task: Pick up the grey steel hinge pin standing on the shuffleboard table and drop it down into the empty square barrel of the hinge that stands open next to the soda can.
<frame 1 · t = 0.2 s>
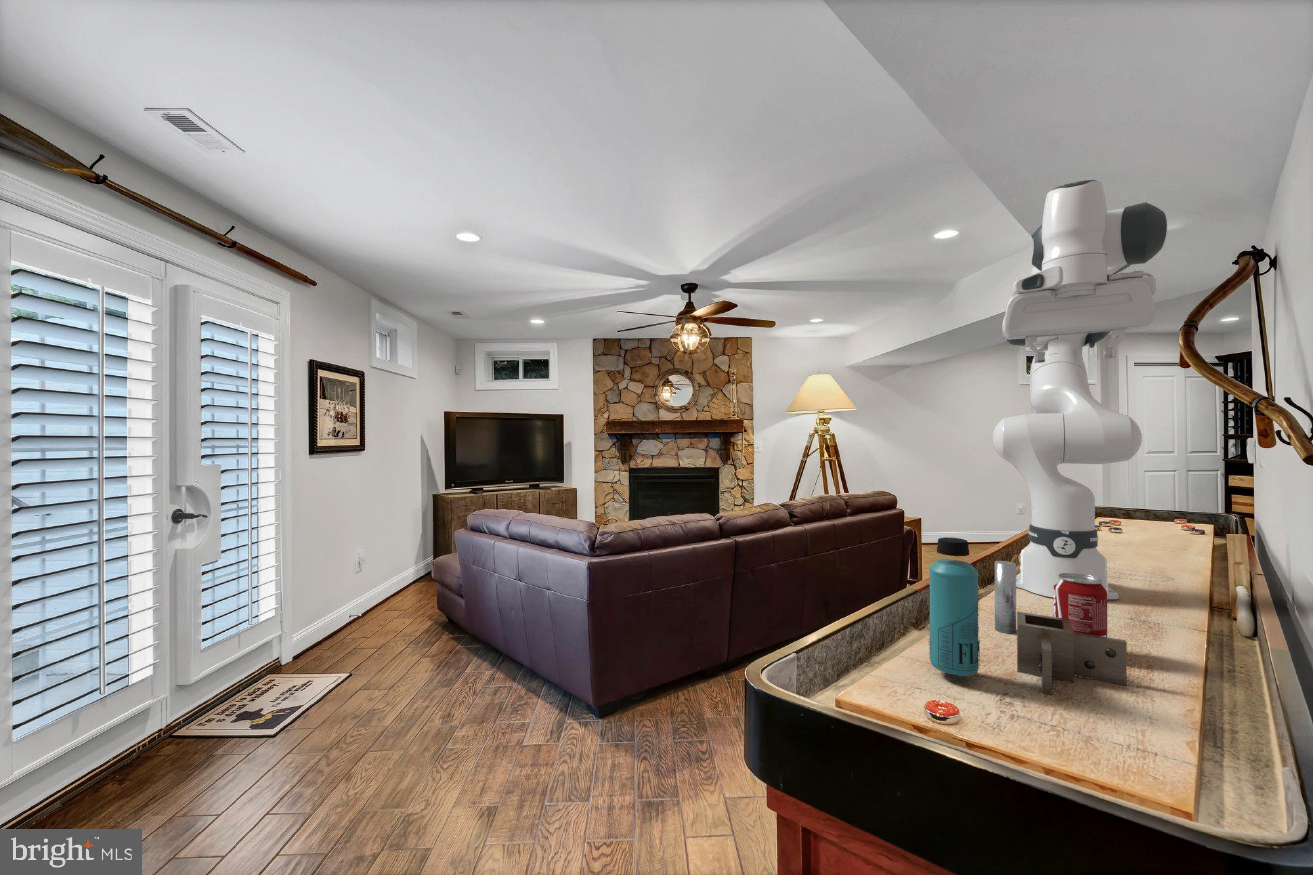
hand: (1073, 360, 92), 47 cm above the table, fingers open, 8 cm apart
pin: (1005, 630, 96), on the table
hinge: (1043, 668, 81), on the table
beverage bottle: (953, 677, 78), on the table
soda can: (1079, 653, 86), on the table
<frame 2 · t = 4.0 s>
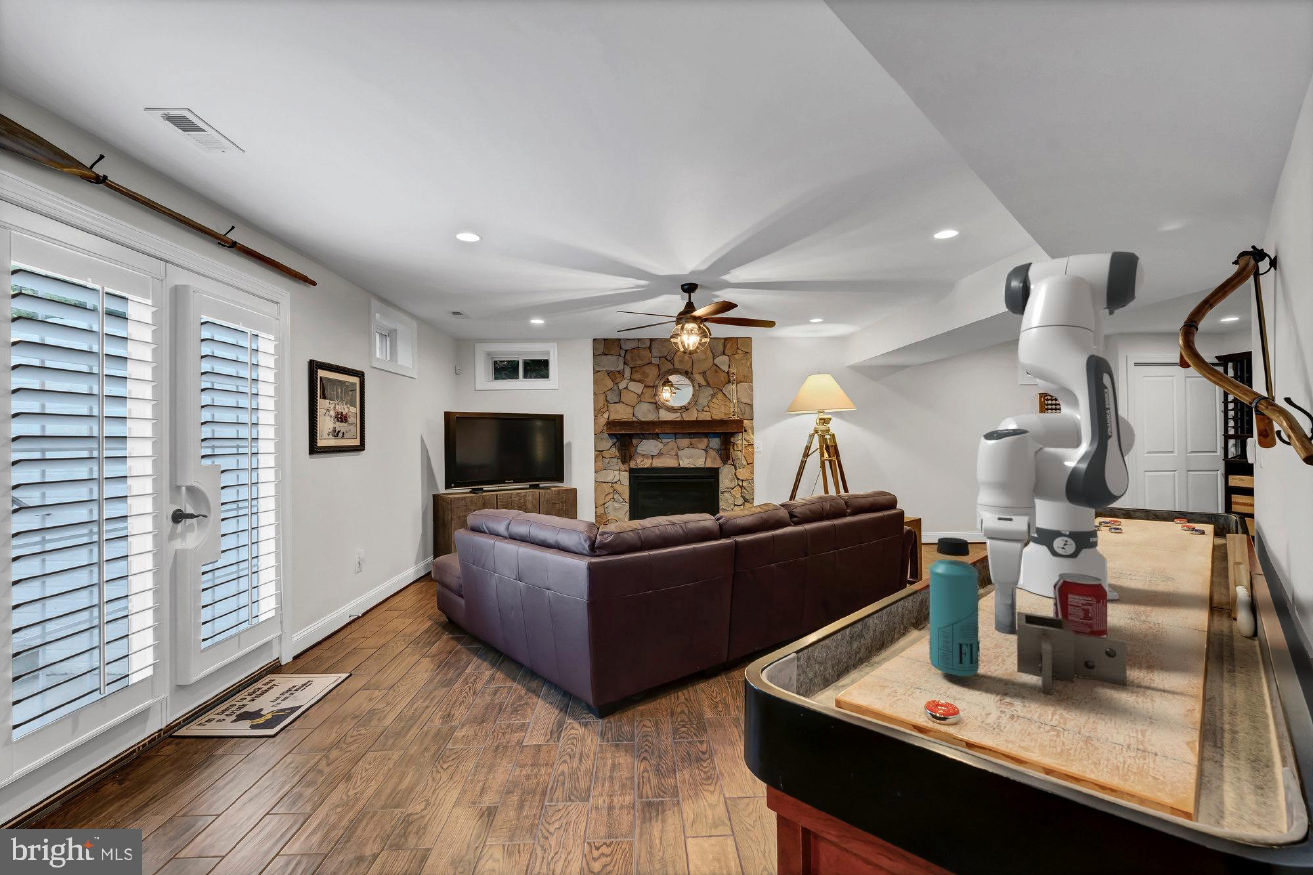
hand: (1005, 598, 96), 6 cm above the table, fingers closed on pin, 3 cm apart
pin: (1005, 630, 96), on the table, touching gripper
everything else where it was.
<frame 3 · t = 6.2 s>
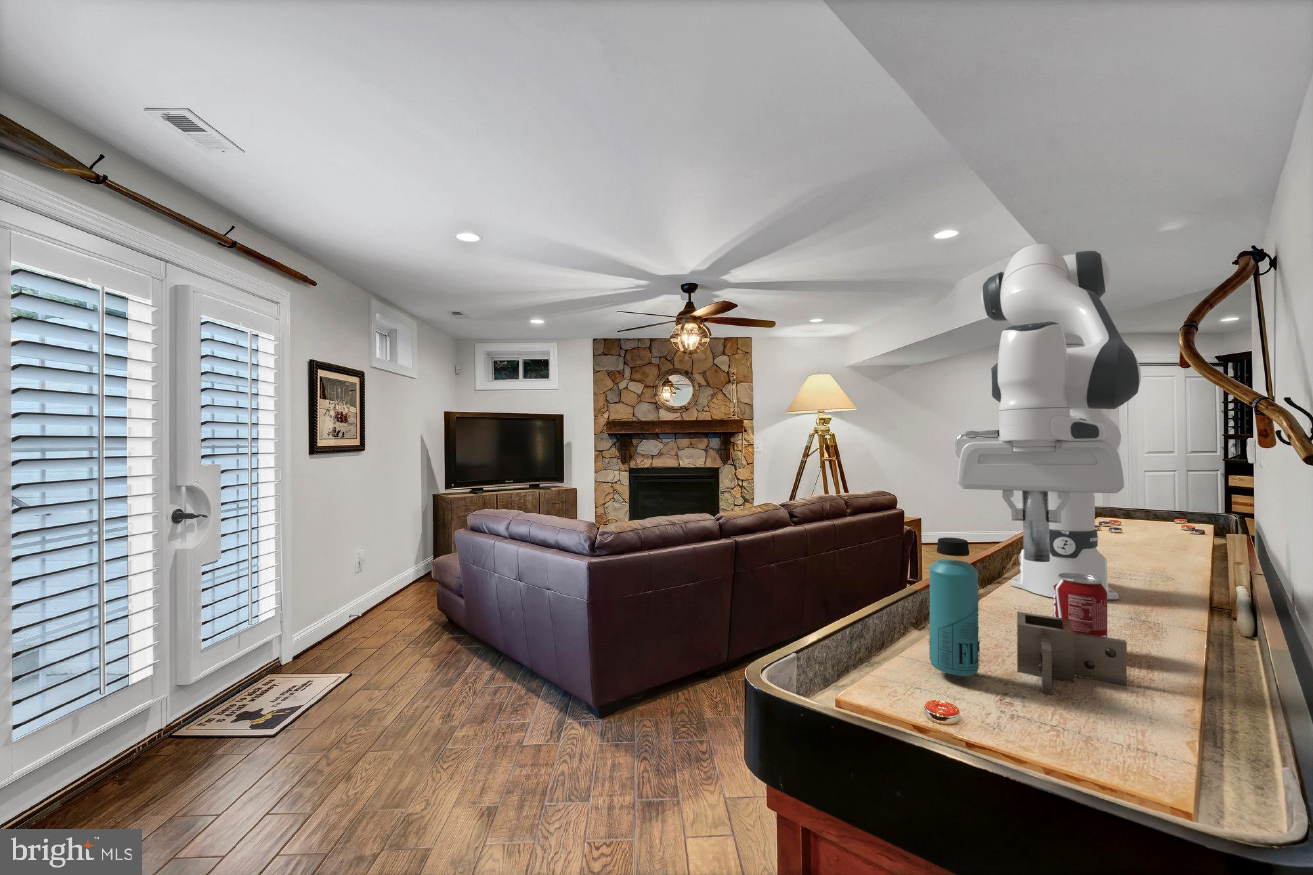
hand: (1036, 521, 81), 22 cm above the table, fingers closed on pin, 3 cm apart
pin: (1036, 559, 81), point 16 cm above the table, touching gripper
everything else where it was.
when the fingers open (9 cm above the table, at t = 8.4 s): pin drops 3 cm, resting in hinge.
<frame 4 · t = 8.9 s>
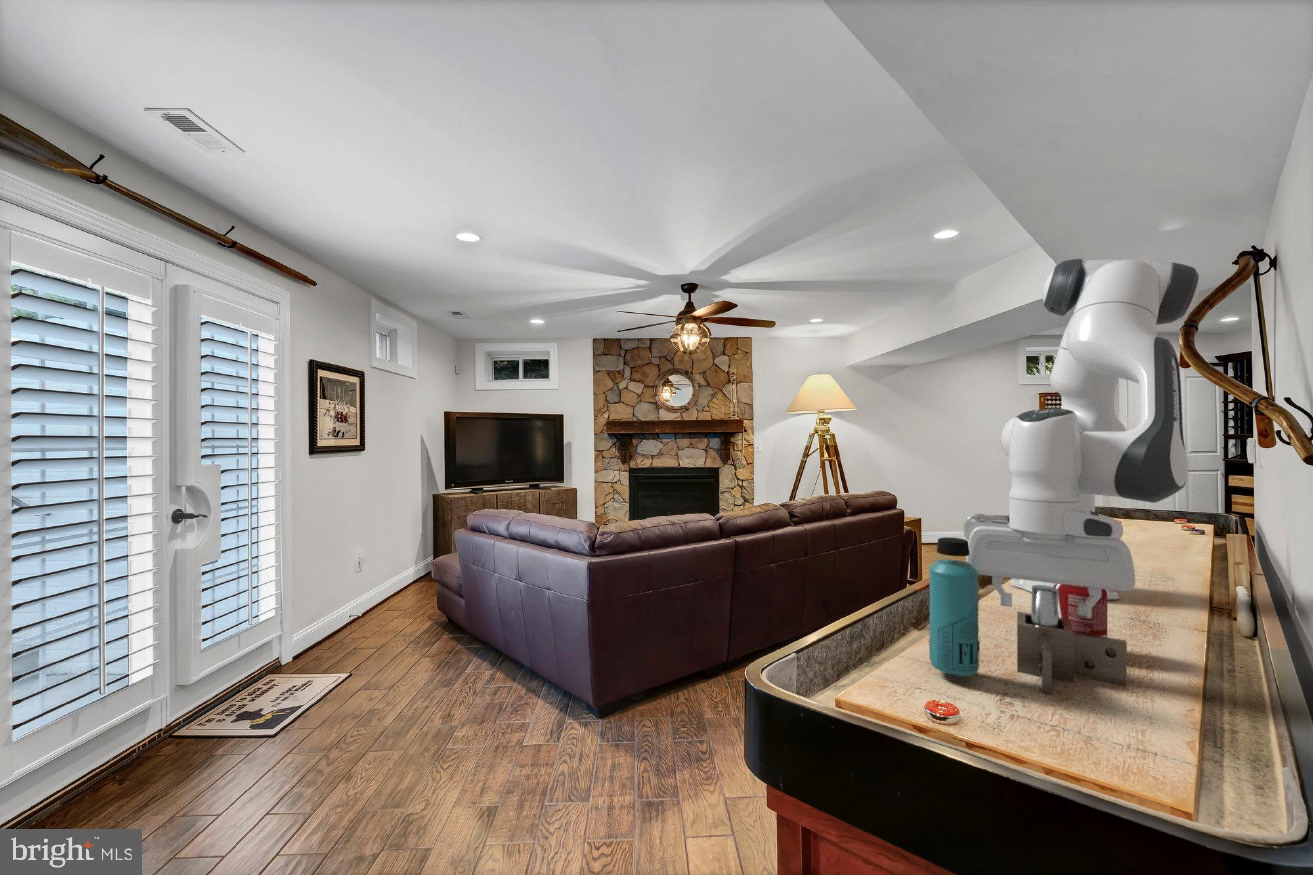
hand: (1044, 611, 80), 9 cm above the table, fingers open, 8 cm apart
pin: (1043, 667, 81), resting in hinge
everything else where it was.
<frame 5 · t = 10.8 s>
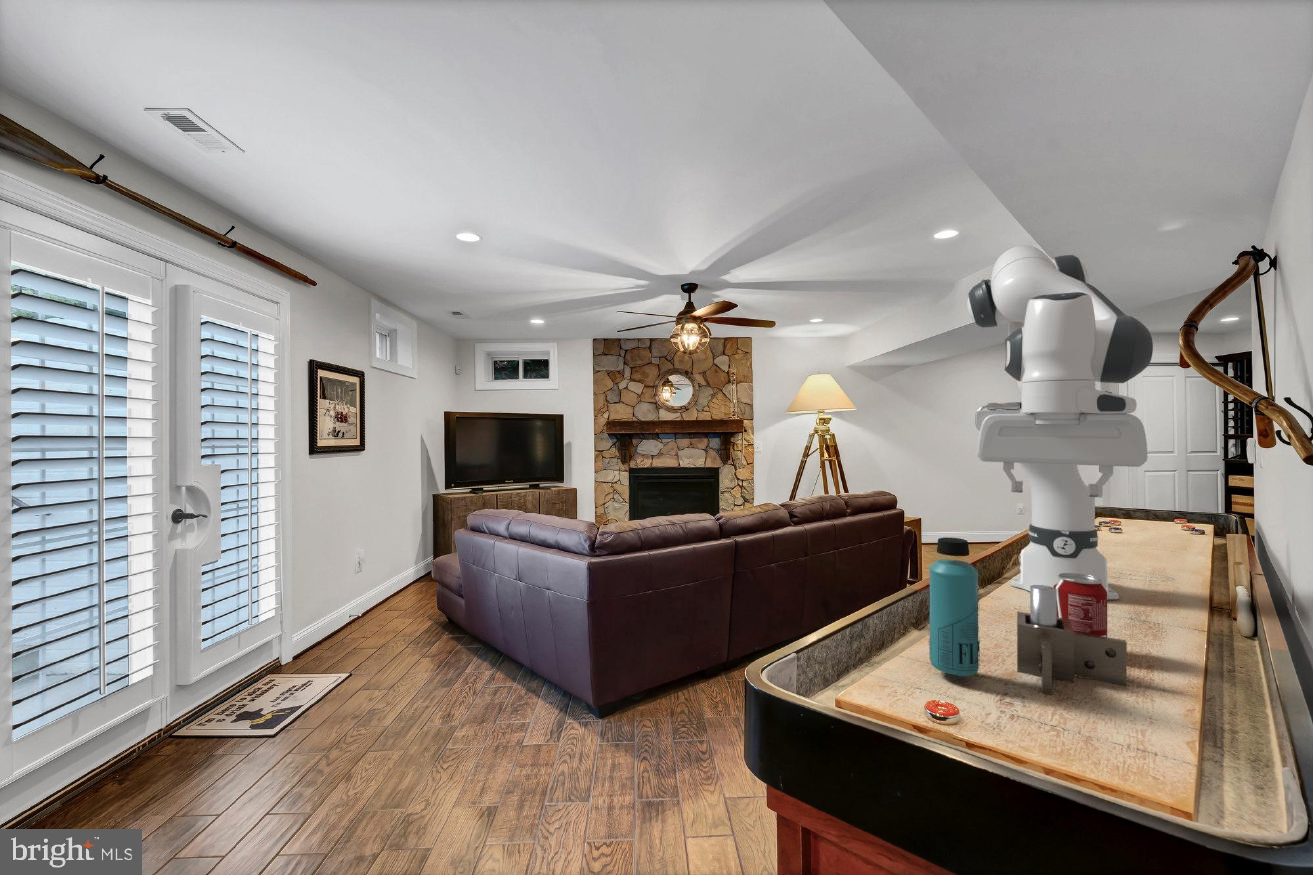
hand: (1054, 494, 81), 26 cm above the table, fingers open, 8 cm apart
nothing on the table moved.
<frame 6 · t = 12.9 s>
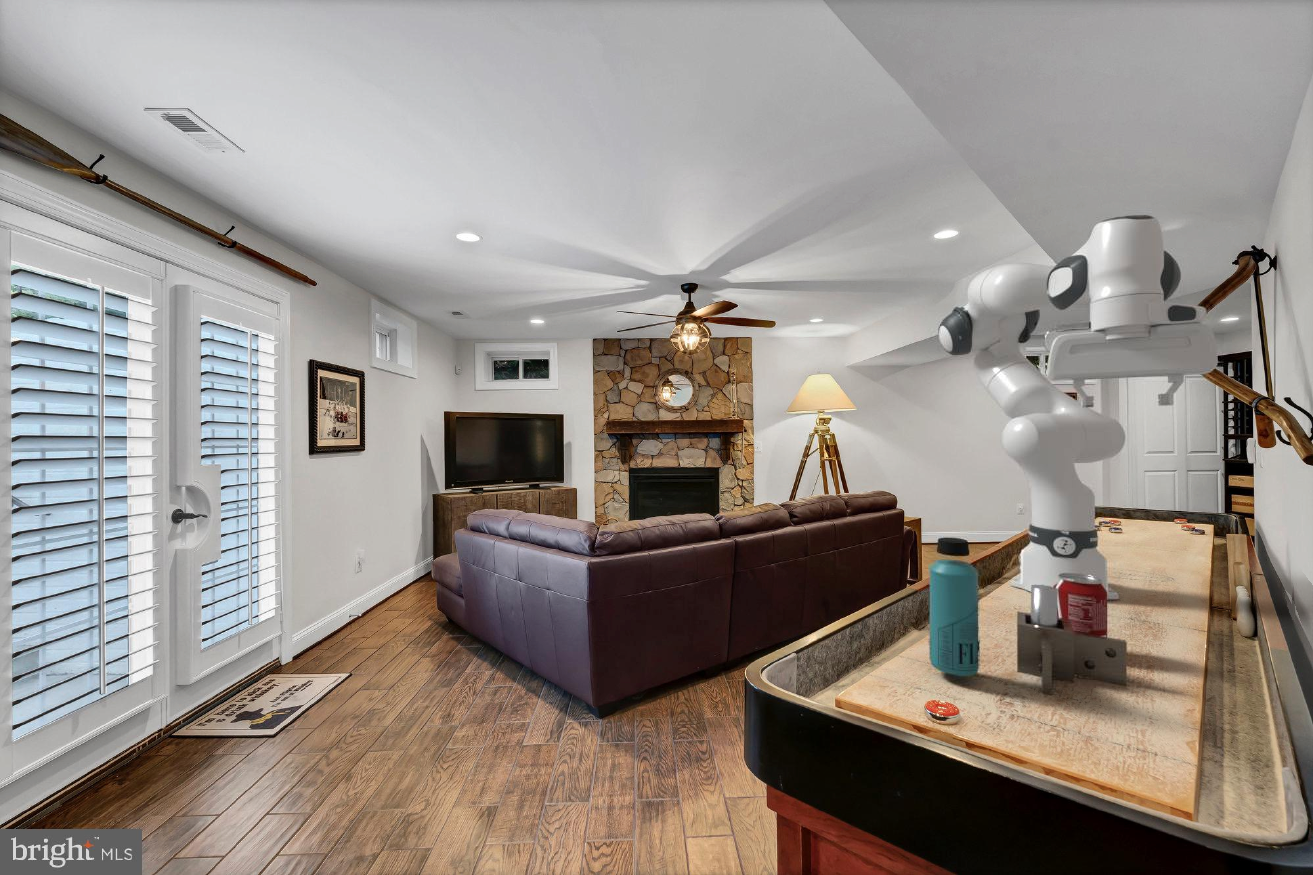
hand: (1125, 406, 86), 39 cm above the table, fingers open, 8 cm apart
nothing on the table moved.
at the end: pin 0.2 cm off-centre on the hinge, point 0.0 cm above the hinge's base; pin tilted 1°; the gripper is holding nothing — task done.
